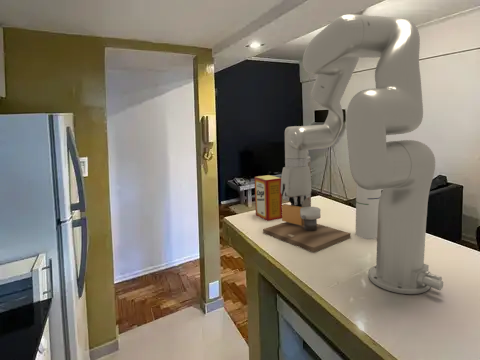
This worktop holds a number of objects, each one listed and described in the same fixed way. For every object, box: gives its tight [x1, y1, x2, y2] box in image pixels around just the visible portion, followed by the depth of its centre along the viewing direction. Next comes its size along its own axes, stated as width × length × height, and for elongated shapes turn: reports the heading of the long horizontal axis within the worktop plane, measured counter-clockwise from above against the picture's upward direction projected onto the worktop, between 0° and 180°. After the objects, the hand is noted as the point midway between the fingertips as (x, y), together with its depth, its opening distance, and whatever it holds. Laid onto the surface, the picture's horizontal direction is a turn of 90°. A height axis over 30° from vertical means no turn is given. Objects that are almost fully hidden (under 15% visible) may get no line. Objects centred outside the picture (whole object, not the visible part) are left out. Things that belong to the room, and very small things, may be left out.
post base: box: [262, 219, 351, 253], centre depth 103 cm, size 22×17×6 cm
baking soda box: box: [253, 174, 283, 222], centre depth 125 cm, size 10×6×16 cm
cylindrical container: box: [355, 183, 382, 240], centre depth 99 cm, size 7×7×25 cm
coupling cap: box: [281, 203, 321, 225], centre depth 107 cm, size 14×8×6 cm, turn 44°
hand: (296, 214), depth 112 cm, fingers closed
